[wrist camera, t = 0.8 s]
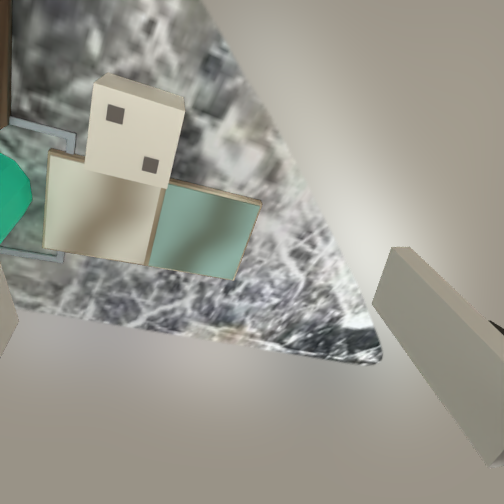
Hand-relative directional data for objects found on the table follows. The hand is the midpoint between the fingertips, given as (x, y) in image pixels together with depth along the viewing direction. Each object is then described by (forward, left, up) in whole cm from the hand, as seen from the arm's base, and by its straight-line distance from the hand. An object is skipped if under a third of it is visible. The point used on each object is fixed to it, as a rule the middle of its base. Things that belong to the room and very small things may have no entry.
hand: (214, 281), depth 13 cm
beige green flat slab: (-1, -7, -17) cm, 19 cm away
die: (-4, +1, -17) cm, 18 cm away
